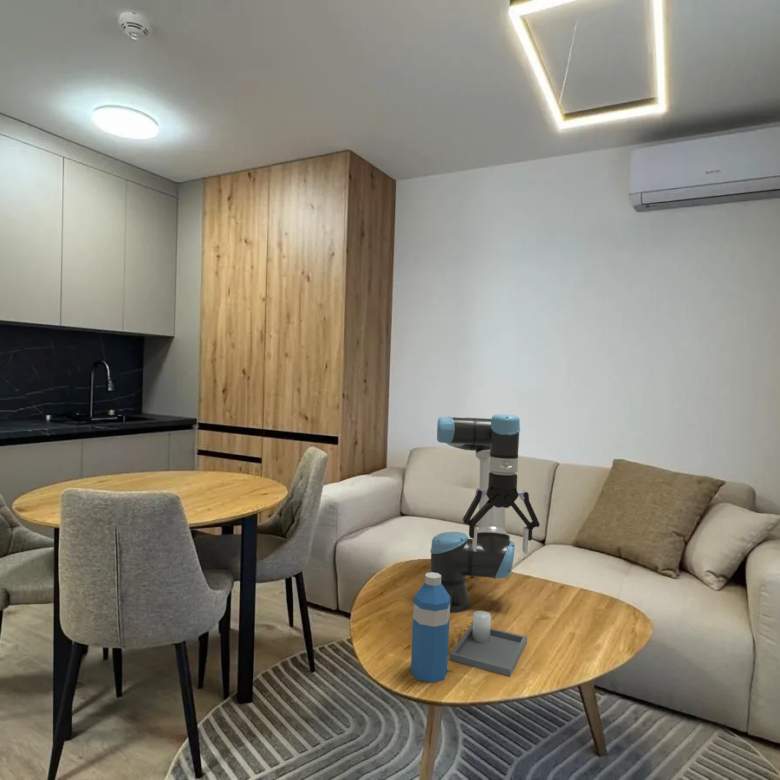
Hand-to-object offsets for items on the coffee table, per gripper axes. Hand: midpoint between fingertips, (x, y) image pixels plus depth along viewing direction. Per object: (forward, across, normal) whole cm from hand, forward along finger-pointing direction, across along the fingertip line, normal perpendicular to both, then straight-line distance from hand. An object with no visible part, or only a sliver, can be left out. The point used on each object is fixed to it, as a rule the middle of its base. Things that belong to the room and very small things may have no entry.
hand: (499, 551), depth 150 cm
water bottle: (+29, -18, -10) cm, 36 cm away
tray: (+29, -1, +1) cm, 29 cm away
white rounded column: (+28, -3, +8) cm, 29 cm away
